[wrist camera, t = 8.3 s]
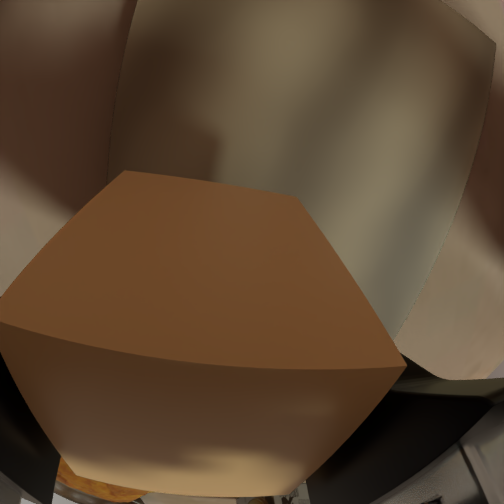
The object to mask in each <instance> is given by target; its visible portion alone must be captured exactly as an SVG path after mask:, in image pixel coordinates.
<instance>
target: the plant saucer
mask: <svg viewBox="0 0 504 504" xmlns="http://www.w3.org/2000/svg"><path fill="white" fill-rule="evenodd" d="M54 493H56V494H58V495H60V496H62V497H64V498H66V499H68V500H71V501H73V502H75V503H78V504H144V503H143V501H142V500H141V498H137V499H135V500H133V501H131V502H111V501H108V500H105V499H102V498H99V497H97V496H94V495H91V494H87V493H85V492H82V491H80V490H78V489H74V488H71V487H69V486H67V485H65V484H64V483H62V482H60V481H57V480H56V482H55V488H54Z"/></svg>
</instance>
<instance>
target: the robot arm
mask: <svg viewBox="0 0 504 504" xmlns="http://www.w3.org/2000/svg"><path fill="white" fill-rule="evenodd" d="M0 298H1V297H0ZM400 354H401V353H400ZM401 356H402V357H403V359H404V361H405V363H406V364H407V367H406V368H405V370H404V371H403V372H402V374H401V375H400V377H399V378H398V379H397V381H396V382H395V383H394V385H393V386H392V387H391V388H390V390H389V391H388V392H387V394H386V395H385V396H384V397H383V399H382V400H381V401H380V402H379V404H378V405H377V406H376V407H375V408H374V410H373V411H372V412H371V413H370V414H369V416H368V417H367V418H366V419H365V420H364V421H363V422H362V424H361V425H360V426H359V427H358V428H357V429H356V430H355V431H354V433H353V434H352V435H351V436H350V437H349V438H348V439H347V440H346V441H345V442H344V443H343V444H342V445H341V446H340V447H339V448H338V449H337V450H336V452H335V453H334V454H333V455H332V456H331V457H330V458H329V459H327V460H326V461H325V462H324V463H323V464H322V465H321V466H320V467H319V468H318V469H317V470H316V471H315V472H314V473H313V474H312V475H311V476H309V477H308V478H307V479H306V485H307V490H308V495H309V500H310V504H504V378H494V379H476V380H446V379H443V378H440V377H437V376H435V375H433V374H432V373H430V372H429V371H427V370H426V369H424V368H422V367H421V366H419V365H418V364H416V363H415V362H413V361H412V360H410V359H409V358H407V357H406V356H404V355H403V354H401ZM60 459H61V455H60V454H59V452H58V451H57V450H56V448H55V447H54V445H53V444H52V443H51V441H50V440H49V438H48V437H47V435H46V434H45V432H44V431H43V429H42V428H41V426H40V425H39V423H38V422H37V420H36V418H35V417H34V415H33V414H32V412H31V410H30V409H29V407H28V405H27V403H26V402H25V400H24V398H23V396H22V395H21V393H20V391H19V389H18V387H17V385H16V383H15V381H14V380H13V378H12V376H11V374H10V372H9V370H8V367H7V365H6V363H5V361H4V359H3V357H2V355H1V352H0V504H20V503H21V498H24V499H26V500H29V501H31V502H33V503H36V504H52V499H53V493H54V488H55V482H56V477H57V472H58V468H59V463H60Z"/></svg>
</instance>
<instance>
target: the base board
mask: <svg viewBox="0 0 504 504" xmlns="http://www.w3.org/2000/svg"><path fill="white" fill-rule="evenodd" d="M495 51H496V43H495V42H494V41H492V40H491V39H490V38H489V37H488V36H487V35H485V34H484V33H483V32H482V31H481V30H479V29H478V28H477V27H476V26H475V25H473V24H472V23H471V22H469V21H468V20H467V19H465V18H464V17H463V16H461V15H460V14H459V13H457V12H456V11H455V10H453V9H452V8H450V7H449V6H448V5H446V4H445V3H443V2H442V1H440V0H138V1H137V4H136V8H135V11H134V15H133V19H132V22H131V26H130V30H129V34H128V38H127V42H126V47H125V51H124V56H123V60H122V65H121V70H120V76H119V81H118V87H117V93H116V99H115V106H114V113H113V120H112V128H111V137H110V147H109V158H108V171H107V185H108V184H109V183H110V182H112V181H113V180H114V179H115V178H116V177H117V176H119V175H120V174H121V173H122V172H123V171H125V170H126V171H135V172H144V173H152V174H160V175H167V176H175V177H182V178H189V179H196V180H203V181H209V182H216V183H222V184H228V185H234V186H240V187H246V188H252V189H258V190H263V191H269V192H274V193H279V194H285V195H290V196H295V197H297V198H298V199H299V201H300V202H301V204H302V205H303V206H304V208H305V209H306V210H307V212H308V213H309V215H310V216H311V217H312V219H313V220H314V222H315V223H316V224H317V226H318V227H319V229H320V230H321V231H322V233H323V234H324V236H325V237H326V239H327V240H328V241H329V243H330V244H331V246H332V247H333V249H334V250H335V252H336V253H337V255H338V256H339V257H340V259H341V260H342V262H343V263H344V265H345V266H346V268H347V269H348V271H349V272H350V274H351V275H352V277H353V278H354V280H355V281H356V283H357V285H358V286H359V288H360V289H361V291H362V292H363V294H364V295H365V297H366V298H367V300H368V302H369V303H370V305H371V306H372V308H373V309H374V311H375V313H376V314H377V316H378V317H379V319H380V321H381V322H382V324H383V326H384V327H385V329H386V330H387V332H388V334H389V335H390V337H391V339H392V340H394V339H395V337H396V335H397V334H398V332H399V330H400V329H401V327H402V325H403V323H404V322H405V320H406V318H407V316H408V315H409V313H410V311H411V309H412V307H413V305H414V304H415V302H416V300H417V298H418V296H419V294H420V292H421V290H422V288H423V286H424V284H425V282H426V280H427V278H428V276H429V274H430V272H431V270H432V268H433V266H434V264H435V262H436V259H437V257H438V255H439V253H440V251H441V248H442V246H443V244H444V241H445V239H446V237H447V234H448V232H449V230H450V227H451V225H452V222H453V220H454V217H455V214H456V212H457V209H458V206H459V204H460V201H461V198H462V195H463V192H464V190H465V187H466V184H467V181H468V178H469V174H470V171H471V168H472V165H473V161H474V158H475V154H476V151H477V147H478V143H479V140H480V136H481V132H482V128H483V123H484V119H485V114H486V110H487V105H488V99H489V94H490V88H491V82H492V76H493V68H494V60H495Z"/></svg>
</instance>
